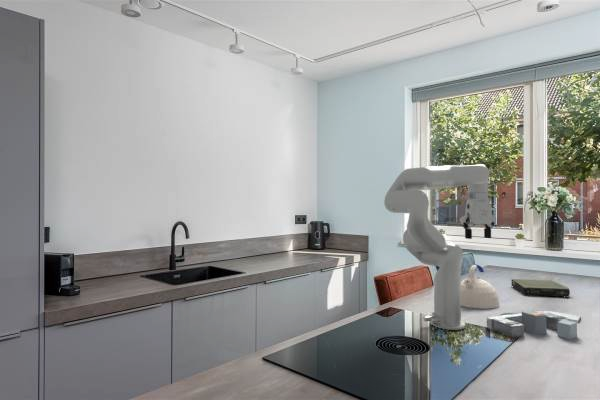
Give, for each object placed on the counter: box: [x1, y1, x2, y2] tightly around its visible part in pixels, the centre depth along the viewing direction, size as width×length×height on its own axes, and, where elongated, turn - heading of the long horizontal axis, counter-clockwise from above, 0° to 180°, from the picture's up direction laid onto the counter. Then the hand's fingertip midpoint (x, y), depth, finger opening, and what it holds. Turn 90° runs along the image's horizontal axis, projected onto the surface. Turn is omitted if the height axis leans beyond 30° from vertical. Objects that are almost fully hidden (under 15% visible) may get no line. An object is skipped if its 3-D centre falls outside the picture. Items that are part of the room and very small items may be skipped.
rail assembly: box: [486, 310, 571, 339], centre depth 144 cm, size 28×11×4 cm, turn 107°
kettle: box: [460, 264, 500, 310], centre depth 182 cm, size 20×21×18 cm
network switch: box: [511, 278, 571, 298], centre depth 204 cm, size 23×23×5 cm
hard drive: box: [546, 310, 582, 324], centre depth 159 cm, size 2×8×12 cm
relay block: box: [556, 320, 578, 340], centre depth 136 cm, size 5×4×5 cm
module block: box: [521, 310, 548, 335], centre depth 142 cm, size 5×6×7 cm
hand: (478, 238), depth 161 cm, fingers open, 9 cm apart
